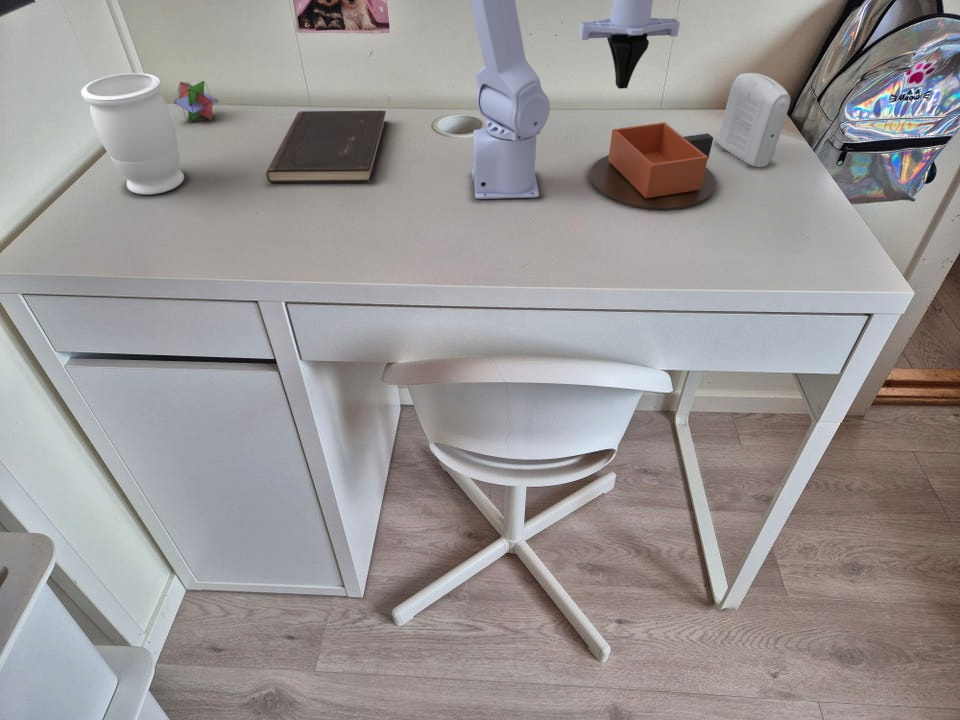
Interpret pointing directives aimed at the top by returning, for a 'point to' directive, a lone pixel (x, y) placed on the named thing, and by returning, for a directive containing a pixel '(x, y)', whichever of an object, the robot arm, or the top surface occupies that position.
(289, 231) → the top surface
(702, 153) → the bin
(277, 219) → the top surface
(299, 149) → the hardcover book
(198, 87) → the geometric puzzle
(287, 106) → the top surface
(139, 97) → the jar
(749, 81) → the photo printer
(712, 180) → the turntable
